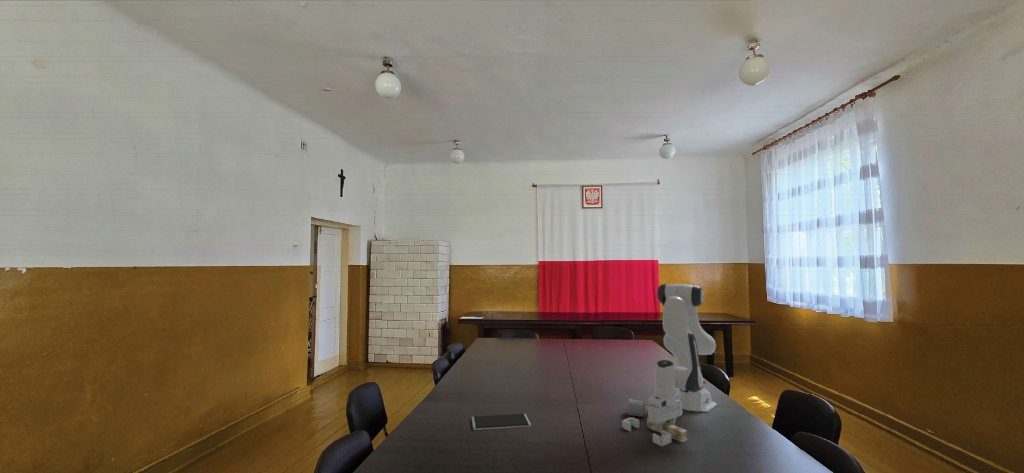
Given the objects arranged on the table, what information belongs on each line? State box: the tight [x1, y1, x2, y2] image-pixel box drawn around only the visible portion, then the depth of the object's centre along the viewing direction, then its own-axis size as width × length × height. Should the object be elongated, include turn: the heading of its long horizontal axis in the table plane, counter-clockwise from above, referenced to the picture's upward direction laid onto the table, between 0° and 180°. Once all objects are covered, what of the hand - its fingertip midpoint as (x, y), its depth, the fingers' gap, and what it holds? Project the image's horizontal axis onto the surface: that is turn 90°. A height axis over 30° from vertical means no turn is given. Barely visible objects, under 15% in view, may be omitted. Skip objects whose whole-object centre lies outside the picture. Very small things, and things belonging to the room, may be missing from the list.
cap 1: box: [621, 416, 640, 432], centre depth 178 cm, size 4×7×4 cm
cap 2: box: [652, 430, 673, 447], centre depth 164 cm, size 4×7×4 cm
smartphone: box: [471, 413, 532, 431], centre depth 183 cm, size 13×27×2 cm, turn 99°
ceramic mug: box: [627, 398, 646, 418], centre depth 194 cm, size 11×8×8 cm
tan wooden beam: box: [646, 417, 688, 443], centre depth 172 cm, size 18×4×4 cm, turn 33°
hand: (666, 429), depth 172 cm, fingers open, 7 cm apart
